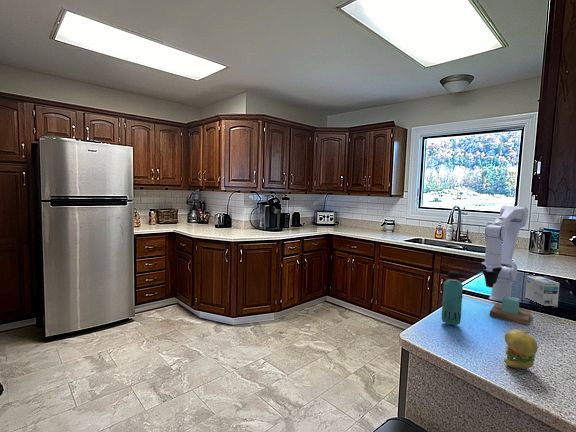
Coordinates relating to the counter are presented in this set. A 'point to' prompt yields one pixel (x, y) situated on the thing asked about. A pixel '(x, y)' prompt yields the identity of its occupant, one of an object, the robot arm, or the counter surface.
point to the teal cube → (510, 304)
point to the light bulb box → (542, 290)
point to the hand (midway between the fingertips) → (491, 285)
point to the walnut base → (510, 314)
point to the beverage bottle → (452, 299)
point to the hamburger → (520, 349)
